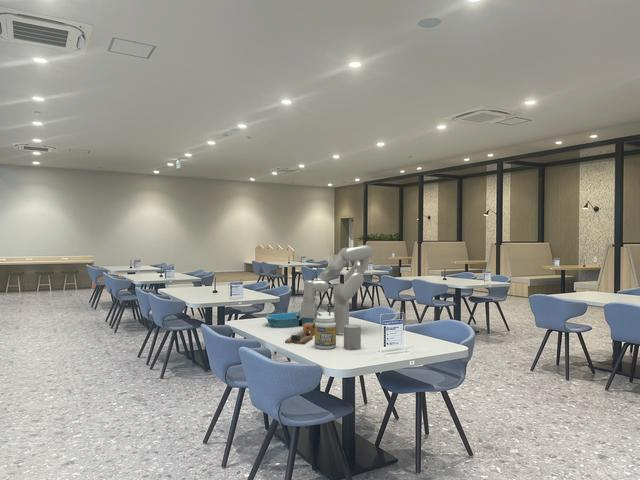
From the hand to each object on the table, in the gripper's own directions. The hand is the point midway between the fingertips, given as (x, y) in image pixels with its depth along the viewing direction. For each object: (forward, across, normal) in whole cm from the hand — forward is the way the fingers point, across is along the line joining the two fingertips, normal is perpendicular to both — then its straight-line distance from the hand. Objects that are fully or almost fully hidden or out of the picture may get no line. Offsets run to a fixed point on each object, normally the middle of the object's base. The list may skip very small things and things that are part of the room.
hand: (307, 327), depth 299 cm
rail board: (+5, 0, +17) cm, 18 cm away
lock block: (+5, -1, -1) cm, 5 cm away
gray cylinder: (+4, -34, +26) cm, 43 cm away
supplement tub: (+5, -19, +28) cm, 35 cm away
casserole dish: (+6, +22, -31) cm, 38 cm away
